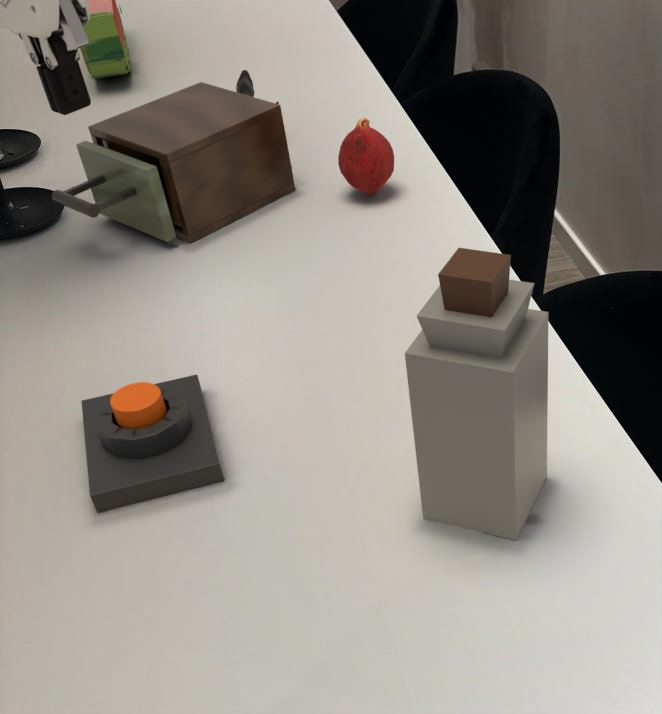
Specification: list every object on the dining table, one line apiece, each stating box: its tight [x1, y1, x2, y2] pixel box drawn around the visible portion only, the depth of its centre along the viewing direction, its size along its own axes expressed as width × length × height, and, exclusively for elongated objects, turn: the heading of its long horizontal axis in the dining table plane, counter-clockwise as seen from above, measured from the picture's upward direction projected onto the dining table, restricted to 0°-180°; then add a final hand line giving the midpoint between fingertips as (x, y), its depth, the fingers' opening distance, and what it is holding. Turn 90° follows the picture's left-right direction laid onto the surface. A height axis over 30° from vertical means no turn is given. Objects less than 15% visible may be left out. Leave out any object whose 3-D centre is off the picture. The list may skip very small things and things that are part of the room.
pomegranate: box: [337, 117, 395, 196], centre depth 101 cm, size 6×6×8 cm
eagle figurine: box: [235, 69, 280, 105], centre depth 115 cm, size 8×7×9 cm
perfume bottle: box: [404, 247, 549, 541], centre depth 61 cm, size 7×7×18 cm
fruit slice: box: [79, 0, 132, 80], centre depth 134 cm, size 26×6×10 cm, turn 18°
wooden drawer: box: [51, 139, 182, 243], centre depth 98 cm, size 19×11×7 cm, turn 142°
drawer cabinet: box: [87, 81, 297, 244], centre depth 101 cm, size 15×13×9 cm
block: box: [80, 374, 225, 514], centre depth 72 cm, size 12×9×4 cm
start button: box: [110, 381, 167, 429], centre depth 70 cm, size 4×4×2 cm
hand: (72, 108), depth 88 cm, fingers closed
